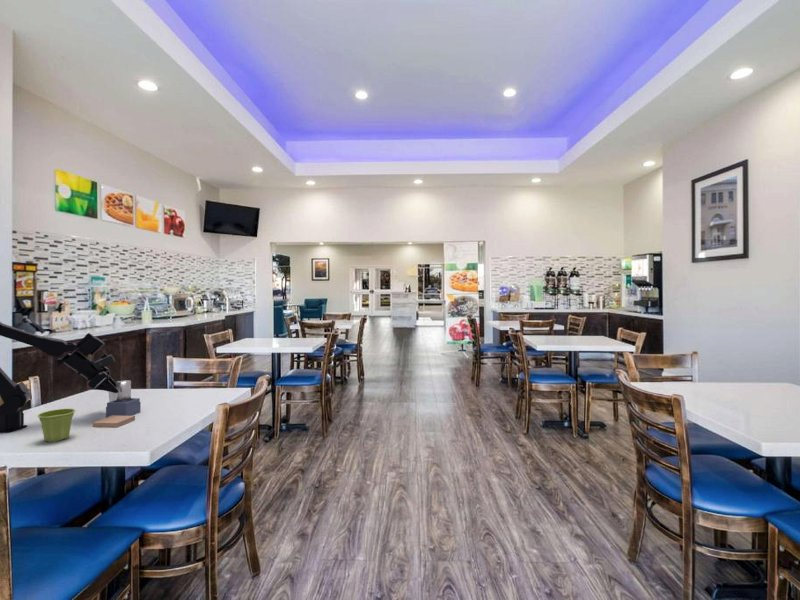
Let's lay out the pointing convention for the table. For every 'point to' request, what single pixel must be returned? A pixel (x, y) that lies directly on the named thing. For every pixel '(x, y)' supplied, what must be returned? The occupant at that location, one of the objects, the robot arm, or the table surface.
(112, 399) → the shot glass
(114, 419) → the tan flat square slab
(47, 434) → the plant pot
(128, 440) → the table surface
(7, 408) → the robot arm
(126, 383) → the silver metal cylinder
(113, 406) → the dark blue ridged block
